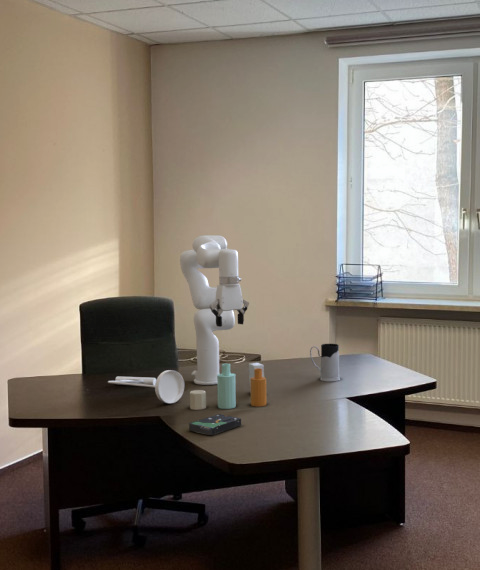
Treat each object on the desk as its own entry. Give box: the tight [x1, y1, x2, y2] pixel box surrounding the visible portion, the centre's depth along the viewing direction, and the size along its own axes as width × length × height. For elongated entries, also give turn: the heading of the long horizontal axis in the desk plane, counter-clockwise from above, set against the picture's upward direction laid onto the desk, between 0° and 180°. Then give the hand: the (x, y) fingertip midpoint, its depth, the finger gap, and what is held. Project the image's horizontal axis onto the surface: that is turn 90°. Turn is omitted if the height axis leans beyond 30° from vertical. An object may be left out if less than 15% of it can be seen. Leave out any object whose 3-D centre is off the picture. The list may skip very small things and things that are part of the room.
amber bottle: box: [249, 368, 267, 408], centre depth 276 cm, size 6×6×14 cm
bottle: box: [216, 363, 237, 410], centre depth 274 cm, size 7×7×16 cm
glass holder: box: [309, 343, 341, 382], centre depth 321 cm, size 9×14×15 cm, turn 58°
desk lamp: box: [107, 369, 185, 404], centre depth 298 cm, size 12×22×45 cm
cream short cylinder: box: [189, 389, 207, 411], centre depth 273 cm, size 6×6×6 cm
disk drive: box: [188, 413, 242, 436], centre depth 245 cm, size 10×3×15 cm
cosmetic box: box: [248, 362, 265, 394], centre depth 293 cm, size 6×4×12 cm
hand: (230, 325), depth 287 cm, fingers open, 9 cm apart
